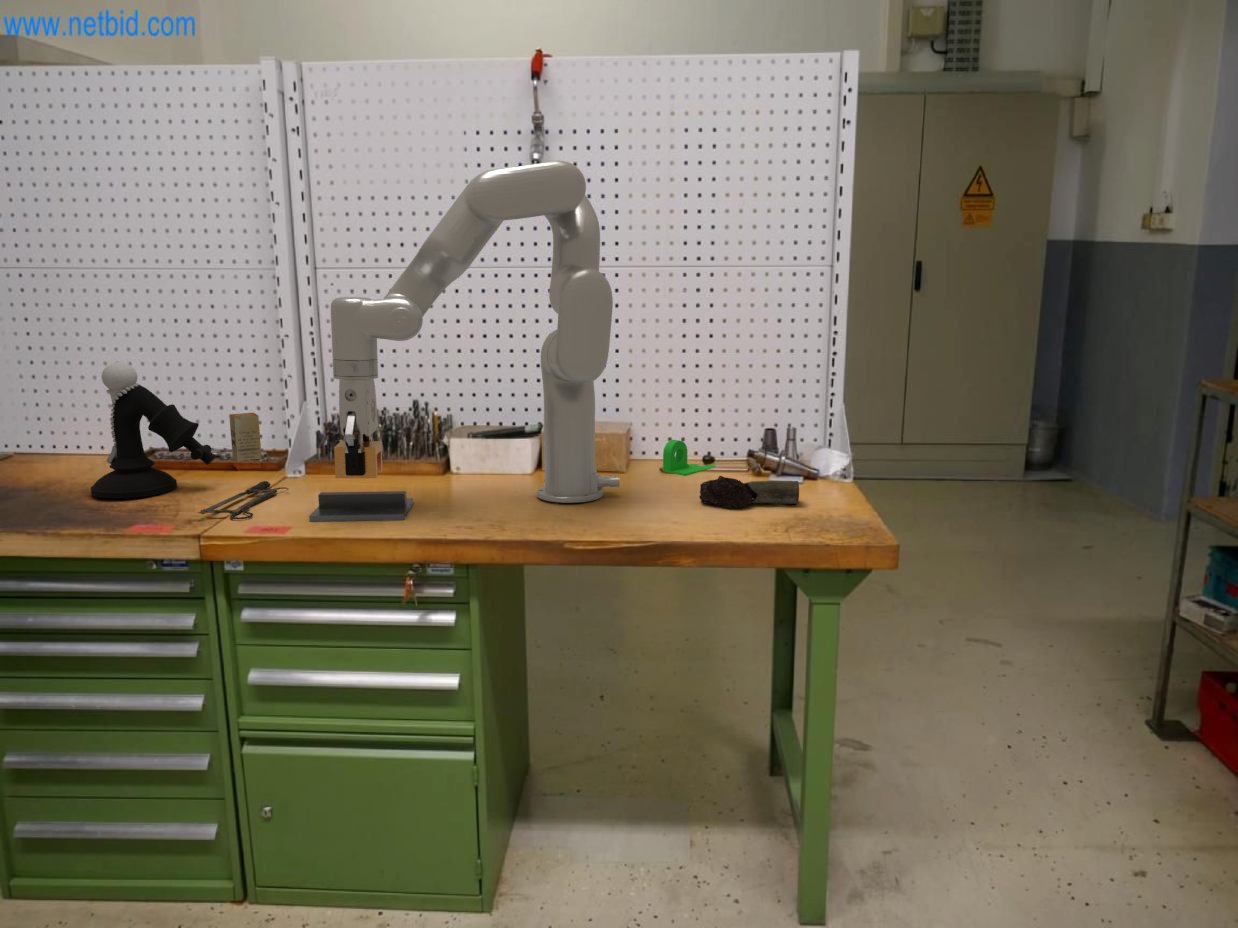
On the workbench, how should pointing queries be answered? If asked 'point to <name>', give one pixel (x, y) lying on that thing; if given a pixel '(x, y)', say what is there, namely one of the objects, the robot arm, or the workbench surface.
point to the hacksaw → (254, 489)
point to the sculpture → (128, 453)
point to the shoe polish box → (245, 436)
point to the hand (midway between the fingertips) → (359, 470)
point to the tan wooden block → (370, 454)
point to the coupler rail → (361, 513)
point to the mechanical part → (679, 459)
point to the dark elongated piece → (748, 492)
